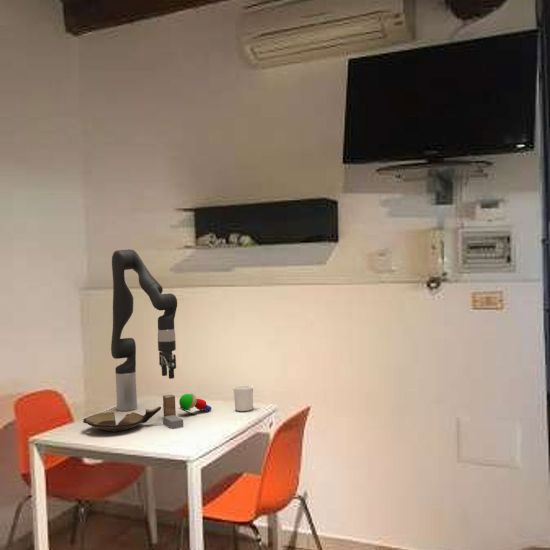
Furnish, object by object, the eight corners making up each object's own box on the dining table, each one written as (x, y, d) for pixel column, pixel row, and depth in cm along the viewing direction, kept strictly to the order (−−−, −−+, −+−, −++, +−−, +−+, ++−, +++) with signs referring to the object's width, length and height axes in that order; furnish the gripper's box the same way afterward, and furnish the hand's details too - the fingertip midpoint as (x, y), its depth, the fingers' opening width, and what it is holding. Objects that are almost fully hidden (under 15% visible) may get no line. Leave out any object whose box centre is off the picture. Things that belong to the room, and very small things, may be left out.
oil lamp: (97, 422, 257) (96, 404, 257) (165, 421, 254) (164, 403, 254) (74, 437, 234) (73, 417, 234) (148, 436, 231) (148, 416, 231)
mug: (251, 412, 264) (250, 389, 264) (232, 412, 266) (231, 389, 266) (256, 406, 275) (255, 384, 275) (238, 406, 277) (237, 384, 276)
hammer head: (163, 423, 250) (163, 416, 250) (174, 422, 252) (174, 414, 252) (171, 428, 241) (171, 421, 241) (183, 426, 244) (183, 419, 244)
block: (163, 418, 259) (162, 395, 259) (172, 417, 261) (171, 394, 261) (167, 420, 256) (166, 397, 256) (175, 418, 258) (174, 395, 258)
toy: (197, 417, 273) (172, 405, 264) (204, 401, 275) (180, 389, 267) (208, 420, 266) (183, 408, 258) (215, 404, 269) (190, 391, 260)
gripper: (152, 339, 262) (154, 376, 263) (164, 342, 250) (165, 380, 250) (169, 337, 266) (170, 373, 266) (180, 340, 254) (182, 378, 254)
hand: (168, 377), depth 258 cm, fingers open, 8 cm apart
